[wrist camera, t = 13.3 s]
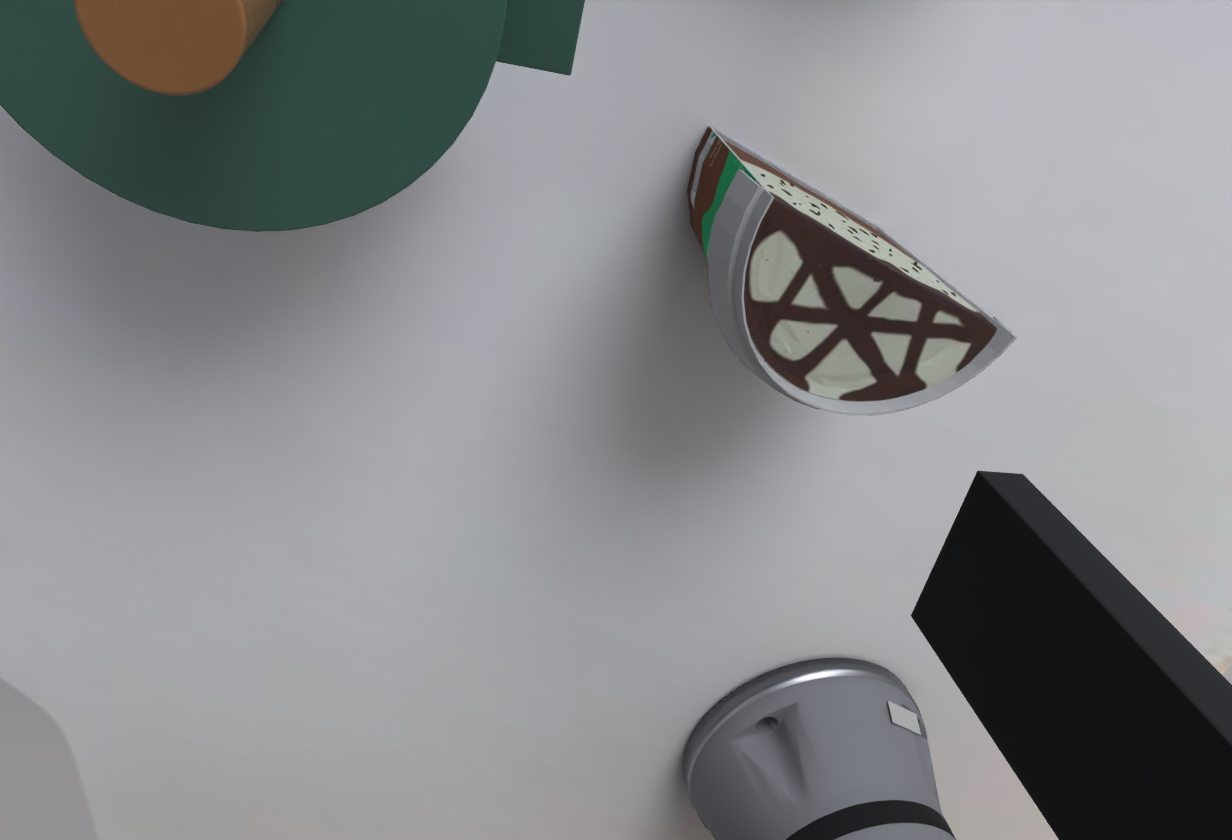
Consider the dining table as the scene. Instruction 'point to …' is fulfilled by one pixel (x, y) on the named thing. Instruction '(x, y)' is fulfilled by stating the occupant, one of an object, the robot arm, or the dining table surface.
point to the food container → (827, 293)
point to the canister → (541, 34)
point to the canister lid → (248, 98)
